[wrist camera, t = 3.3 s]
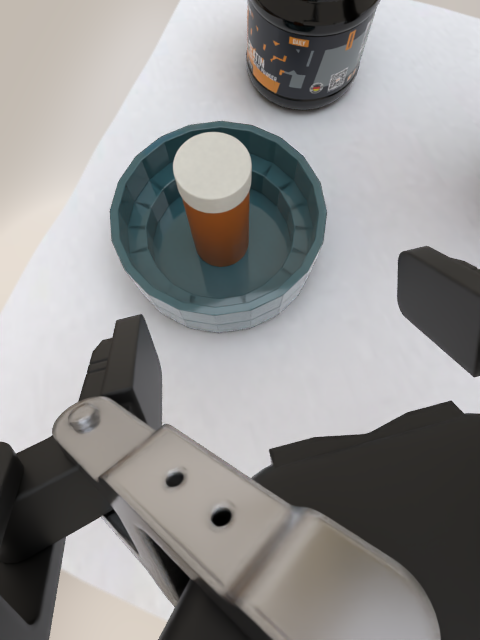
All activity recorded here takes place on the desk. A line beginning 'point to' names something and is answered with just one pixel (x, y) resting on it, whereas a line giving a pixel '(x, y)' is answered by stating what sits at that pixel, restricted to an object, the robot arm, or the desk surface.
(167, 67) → the desk surface
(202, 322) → the bowl
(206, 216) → the pill bottle
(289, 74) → the supplement container
